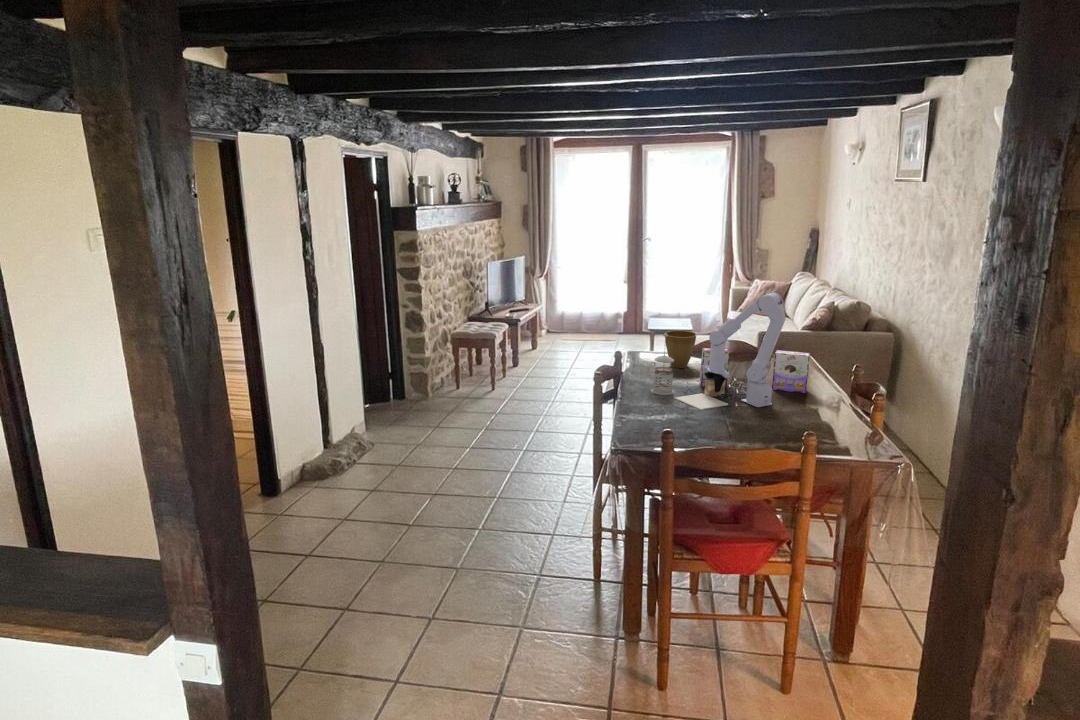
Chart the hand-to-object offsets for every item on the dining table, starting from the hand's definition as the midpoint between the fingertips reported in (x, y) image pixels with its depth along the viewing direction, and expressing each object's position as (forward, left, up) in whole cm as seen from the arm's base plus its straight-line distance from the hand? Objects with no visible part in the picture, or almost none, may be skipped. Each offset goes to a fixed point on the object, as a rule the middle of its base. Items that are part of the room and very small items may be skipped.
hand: (714, 390), depth 278 cm
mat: (-5, +11, -2) cm, 12 cm away
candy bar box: (+10, -8, -2) cm, 13 cm away
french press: (+14, +17, -2) cm, 22 cm away
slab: (0, 0, -2) cm, 2 cm away
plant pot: (+44, -16, -2) cm, 47 cm away
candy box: (-8, -34, -2) cm, 35 cm away
